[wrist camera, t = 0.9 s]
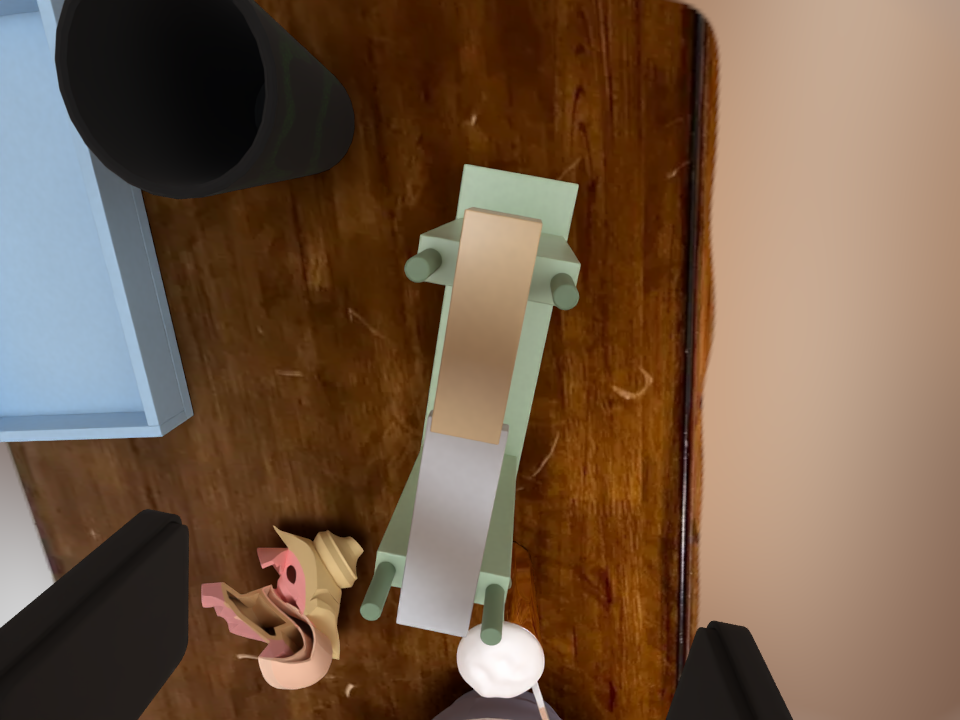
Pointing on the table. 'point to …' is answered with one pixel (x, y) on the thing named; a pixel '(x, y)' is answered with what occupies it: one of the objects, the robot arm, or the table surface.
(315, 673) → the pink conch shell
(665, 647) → the table surface
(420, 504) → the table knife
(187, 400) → the tray
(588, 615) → the table surface
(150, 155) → the cup
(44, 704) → the robot arm
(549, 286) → the rack
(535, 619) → the milkshake
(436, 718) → the bowl
